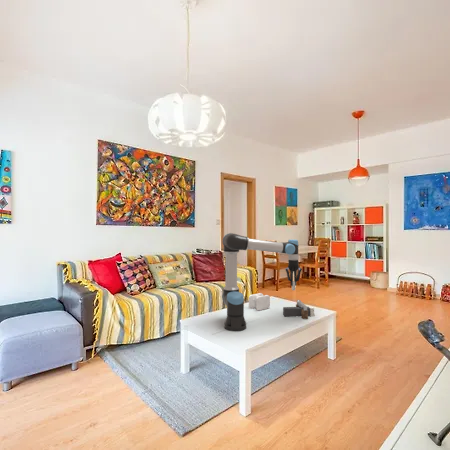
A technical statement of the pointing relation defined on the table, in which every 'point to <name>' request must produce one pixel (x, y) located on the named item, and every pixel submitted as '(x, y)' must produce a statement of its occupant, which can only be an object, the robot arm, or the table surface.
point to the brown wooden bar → (303, 313)
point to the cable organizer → (259, 301)
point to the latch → (301, 305)
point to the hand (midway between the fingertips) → (293, 289)
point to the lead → (296, 311)
